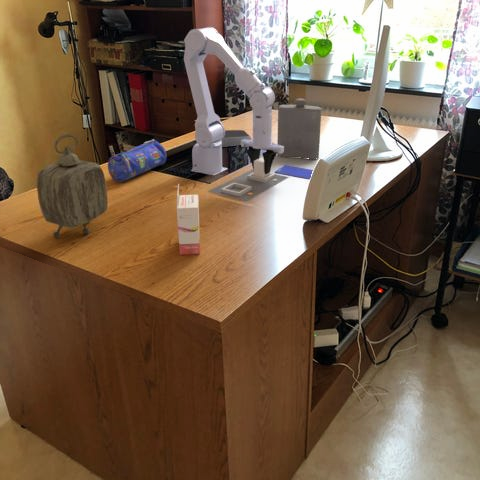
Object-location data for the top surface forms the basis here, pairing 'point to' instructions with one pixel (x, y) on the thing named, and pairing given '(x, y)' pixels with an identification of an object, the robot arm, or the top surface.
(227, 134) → the external hard drive
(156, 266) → the top surface
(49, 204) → the tabletop clock
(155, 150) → the pencil case
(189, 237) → the ink cartridge box
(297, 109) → the flask
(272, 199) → the top surface
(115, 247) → the top surface
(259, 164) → the plug
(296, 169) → the hard drive
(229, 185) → the port panel
